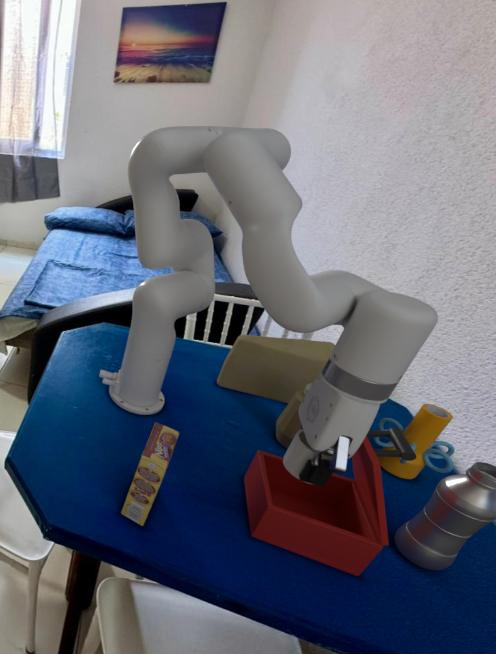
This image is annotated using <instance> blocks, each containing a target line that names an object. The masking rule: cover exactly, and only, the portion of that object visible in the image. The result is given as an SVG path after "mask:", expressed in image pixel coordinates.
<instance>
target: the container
mask: <svg viewBox="0 0 496 654" xmlns="http://www.w3.org/2000/svg"><path fill="white" fill-rule="evenodd" d="M330 448H332V449H334V446H332V447H330ZM314 452H315V450H313V449H312V448H311V447H310V445H309V444H308V442H307V439H306V436H305V433H304V430H303V429H300V430H299V431H298V432H297V433H296V435H295V437H294V439H293V440H292V442H291V444H290V446H289V448H288V449H287V450H286V451H285V453H284V455H283V457H282V458H283V464H284V466H285V468H286V469H287V470H288V471H289V472H290V473H291V474H292V475H293V476H294V477H296V478H298V479H299V474H300V473H301V471H302V469H303V468H304V466H305V464H306V462H307V461H308V460H312V458H313V455H314ZM332 456H333V455H331V454H328V453H324V452H323V454H322V457H321V459H326V460H331V459H332ZM299 480H300V479H299ZM303 482H304V481H303ZM306 483H307V482H306ZM309 484H311V483H309ZM313 485H314V484H313Z"/></svg>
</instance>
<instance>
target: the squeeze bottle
mask: <svg viewBox="0 0 496 654" xmlns="http://www.w3.org/2000/svg"><path fill="white" fill-rule="evenodd" d="M312 385H313V384H308V385H307V386H306V388H305V390H301V391H298V392H296V394H295V395H294V397H293V398H292V399H291V401H290V402H289V404H288V403H287V405H286V406H285V408H284V410H282V412H281V413H280V415H279V416H278V418H277V419H276V421H275V437H276V440H277V441H278V443H279V444H280V445H282V446H283V447H284V448H285V449H287V450H288V448H289V446H290V444H291V442H292V440H293V439H294V437H295V435H296V433H297V432H298V431H299V430H300V425H301V421H300V417H299V413H298V410H299V406H300V404H301V403H302V401H303V399H304V398H305V396H306V394H307V393H308V391H309V389H310V388H311V386H312Z"/></svg>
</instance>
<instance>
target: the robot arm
mask: <svg viewBox="0 0 496 654" xmlns="http://www.w3.org/2000/svg"><path fill="white" fill-rule="evenodd" d="M291 155H292V147H291V144H290V141H289V140H288V138H287V136H285V135H284V133H283V132H281V131H279V130H277V129H274V128H268V127H259V128H258V127H257V128H256V127H234V126H233V127H232V126H218V125H217V126H215V125H197V126H195V125H192V126H189V125H188V126H186V125H183V126H182V125H181V126H176V125H175V126H167V127H160V128H157V129H153V130H152V131H149V132H148V133H146V134H145V135H144V136H142V137H141V138H140V139H139V140H138V142H136V144H135V146H134V147H133V149H132V151H131V154H130V156H129V159H128V164H127V178H128V179H127V180H128V185H129V189H130V193H131V198H132V199H131V200H132V203H133V217H134V218H133V219H134V231H135V233H134V234H135V245H136V253H137V259H138V261H139V264H140V265H142V267H144V268H145V269H147V270H151V271H159V270H166V269H170V268H172V272H170V273H165V274H160V275H156V276H152V277H150V278H147V279H145V280H143V281H142V282H141V283H140V284H138V286H137V287H136V288H135V289H134V291H133V295H132V312H131V313H132V314H131V323H130V328H129V332H128V336H127V340H126V345H125V349H124V354H123V357H122V363H121V365H120V366H121V368H120V369H118V372H111V371H108V370H104V369H100V371H99V375H98V377H99V378H102V383H101V384H103V385H107V386H109V387H108V394H109V397H110V398H111V399H112V401H113V402H114V403H115V404H116V405H117V406H119V408H121V409H123V410H125V411H126V412H127V411H128V412H129V413H133V414H135V415H143V416H147V415H154V414H157V413H159V412H160V411H161V410H163V407H164V405H165V403H166V402H165V400H166V399H165V395H164V394H163V392H162V390H161V389H162V387H163V384H164V380H165V377H166V373H167V371H168V367H169V364H170V361H171V357H172V355H173V351H174V348H175V344H176V339H177V333H176V329H175V323H176V321H177V320H178V319H181V318H184V317H187V316H189V315H190V316H191V315H193V314H196V313H199V312H202V311H204V310H206V309H207V308H208V307H209V306H211V304H212V303H213V301H214V298H215V293H216V272H215V271H216V270H215V254H214V253H215V251H214V250H215V249H214V241H213V238H212V234H211V232H210V230H209V228H208V227H207V226H206V225H205V224H204V223H203V222H201V221H200V220H197V219H195V218H183V219H182V218H181V211H180V210H181V209H180V199H179V198H180V197H179V194H178V192H177V190H176V188H175V186H174V184H173V183H172V182H171V180H170V178H171V177H172V176H175V175H189V174H201V173H204V174H207V176H208V177H209V180H211V182H212V184H213V186H214V187H215V189H216V191H217V192H218V193H219V195H220V197H221V199H222V200H223V202H224V204H225V206H227V208H228V210H229V211H230V213H231V215H232V216H233V218H234V220H235V221H236V223H237V224H238V226H239V228H240V230H241V233H242V238H241V239H242V240H241V255H242V257H241V258H242V266H243V270H244V274H245V277H246V280H247V282H248V284H249V286H250V288H251V290H252V291H253V293H254V294H255V296H256V297H257V300H258V301H259V303H260V304H261V306H262V308H263V309H264V310H265V312H266V314H267V315H268V316H269V317H270V318H271V319H272V320H273V321H274V322H275V323H276V325H278V326H279V327H281V328H283V329H284V330H286V331H290V332H292V333H297V334H308V333H309V334H310V333H314V332H318V331H321V330H323V329H325V328H328V327H331V326H341V327H343V330H342V332H341V334H340V336H339V338H338V339H337V341H336V343H335V347H334V349H333V351H332V353H331V355H330V357H329V358H328V360H327V362H326V364H325V366H324V368H323V370H322V372H321V373H320V375H319V376H318V377H317V379H316V380H315V381H314V383H313V385H312V386H311V388H310V389H309V391H308V393H307V394H306V396H305V398H304V399H303V401H302V403H301V404H300V406H299V410H298V413H299V417H300V421H301V425H300V429H303V430H304V433H305V436H306V439H307V442H308V444H309V445H310V447H311V448H312V449H313V450H315V452H314V455H313V458H312V460H308V461H307V462H306V464H305V466H304V468H303V469H302V471H301V473H300V474H299V479H300V480H301V481H304V482H307V483H311V484H314V485H317V486H320V487H324V486H325V484H326V483H327V481H328V480H329V478H330V476H331V475H332V473H346V472H347V466H348V460H349V459H352V456H353V455H354V454H355V453H356V451H357V450H358V448H359V447H360V445H361V444H362V442H363V440H364V439H365V437H366V435H367V433H368V431H370V429H371V427H372V425H373V423H374V421H375V419H376V417H377V415H378V412H379V409H380V407H381V404H385V403H386V402H388V400H389V399H390V397H391V395H392V394H393V392H394V391H395V389H396V387H398V384H399V383H400V381H401V380H402V378H403V377H404V375H405V373H406V372H407V370H408V369H409V368H410V366H411V364H412V363H413V362H414V360H415V358H416V356H417V355H418V353H419V352H420V351H421V349H422V347H423V346H424V344H425V343H426V342H427V340H428V339H429V337H430V335H431V333H432V332H433V331H434V329H435V327H436V325H437V324H438V321H439V315H438V311H436V309H435V308H434V307H433V306H431V305H430V304H428V303H426V302H424V301H423V300H421V299H418V298H415V297H413V296H411V295H407V294H404V293H403V294H402V293H398V292H394V291H393V292H392V291H389V290H387V289H385V288H384V287H381V286H379V285H378V284H375V283H373V282H371V281H369V280H367V279H365V278H363V277H361V276H359V275H357V274H355V273H352V272H350V271H346V270H342V269H331V270H330V269H329V270H324V271H321V272H318V273H314V274H313V273H312V274H310V275H309V273H308V272H307V271H306V269H305V267H304V266H303V264H302V262H301V261H300V259H299V257H298V255H297V253H296V250H295V248H294V245H293V240H292V230H293V226H294V223H295V221H296V219H297V217H298V215H299V214H300V212H301V210H302V209H303V199H302V198H301V196H300V194H299V193H298V192H297V189H295V188H294V186H293V184H292V183H291V181H290V180H289V179H288V177H287V176H286V174H285V173H284V170H285V168H286V167H287V166H288V164H289V162H290V159H291ZM332 446H334V449H332V448H330V447H332ZM323 452H324V453H328V454H331V455H333V456H332V459H331V460H326V459H321V457H322V454H323Z"/></svg>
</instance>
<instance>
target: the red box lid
mask: <svg viewBox="0 0 496 654" xmlns="http://www.w3.org/2000/svg"><path fill="white" fill-rule="evenodd" d="M386 430H387V431H380V430H369V431H368V433H367V435H366V437H365V439H364V440H363V442H362V444H361V445H360V447H359V448H358V450H357V451H356V453H355V454H354V455H353V456H352V457H351V463H352V472H353V479H354V480H355V481H356V483H357V486H358V488H359V491H360V493H361V496H362V498H363V501H364V503H365V505H366V508H367V510H368V513H369V515H370V518H371V520H372V523H373V525H374V528H375V530H376V532H377V535H378V537H379V540H380V542H381V544H382V545H383V546H387V547H388V546H389V544H390V543H389V535H388V534H389V533H388V525H387V516H386V515H387V514H386V505H385V497H384V487H383V477H382V466H381V465H380V462H379V460H378V458H377V457H401V458H402V459H404V460H407V461H412V460H414V459H416V454H415V452H414V451H413V449H412V447H411V446H410V444H409V443H408V441H407V439H406V438H405V436H404V434H403V433H402V431H401V430H400V429H398V428H397V427H390V428H387V429H386ZM374 437H379V438H387V437H390V439H389V440H390V441H392V442H393V444H394V446H395V448H396V449H397V450H382V449H374V448H373V446H372V444H371V442H370V439H369V438H374Z"/></svg>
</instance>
